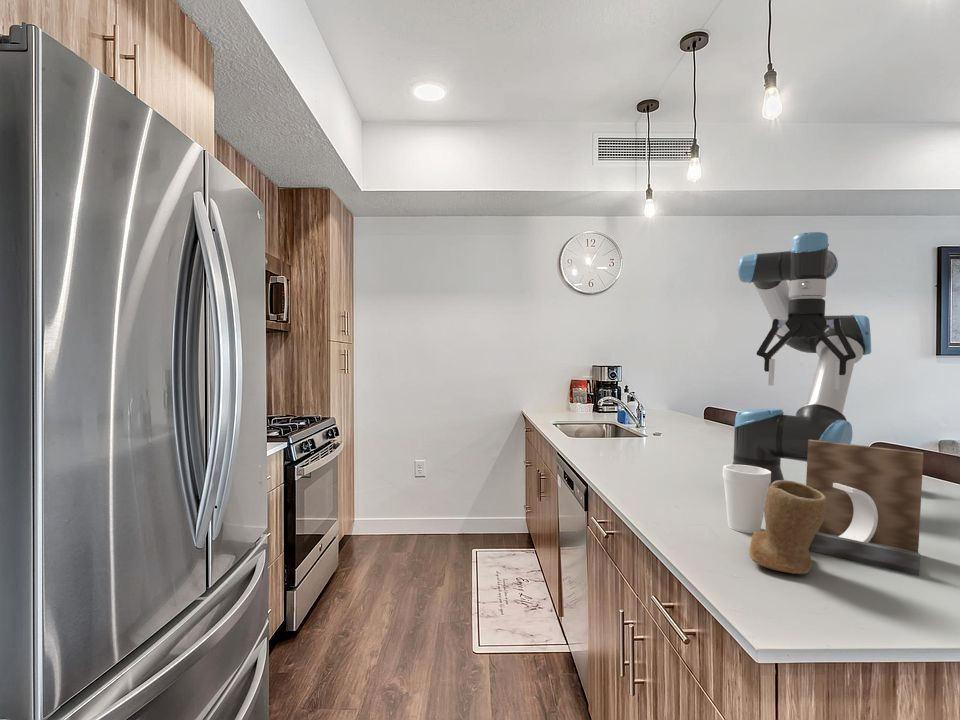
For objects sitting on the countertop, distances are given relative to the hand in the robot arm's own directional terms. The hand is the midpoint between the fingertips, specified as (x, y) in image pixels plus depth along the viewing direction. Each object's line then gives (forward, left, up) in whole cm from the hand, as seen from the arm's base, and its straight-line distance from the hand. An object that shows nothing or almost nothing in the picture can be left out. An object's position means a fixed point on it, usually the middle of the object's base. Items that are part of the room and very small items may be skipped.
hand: (802, 387), depth 127 cm
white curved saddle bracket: (+12, -21, -30) cm, 38 cm away
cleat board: (+13, -20, -31) cm, 39 cm away
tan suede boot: (+3, -37, -31) cm, 48 cm away
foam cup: (-7, -21, -31) cm, 38 cm away
